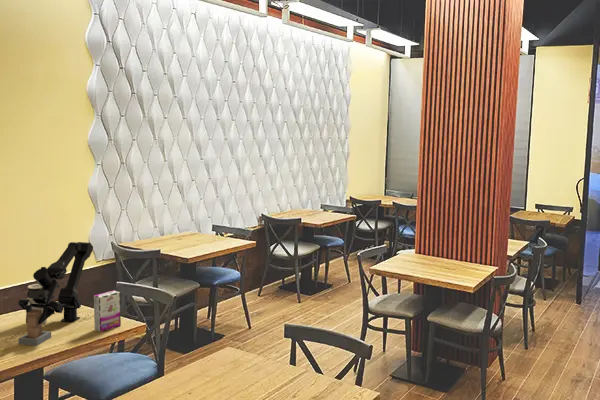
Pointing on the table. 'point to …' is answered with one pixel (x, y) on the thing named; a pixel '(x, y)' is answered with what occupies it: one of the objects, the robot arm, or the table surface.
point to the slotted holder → (34, 342)
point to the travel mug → (32, 288)
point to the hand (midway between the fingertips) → (32, 323)
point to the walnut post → (34, 324)
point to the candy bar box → (107, 311)
